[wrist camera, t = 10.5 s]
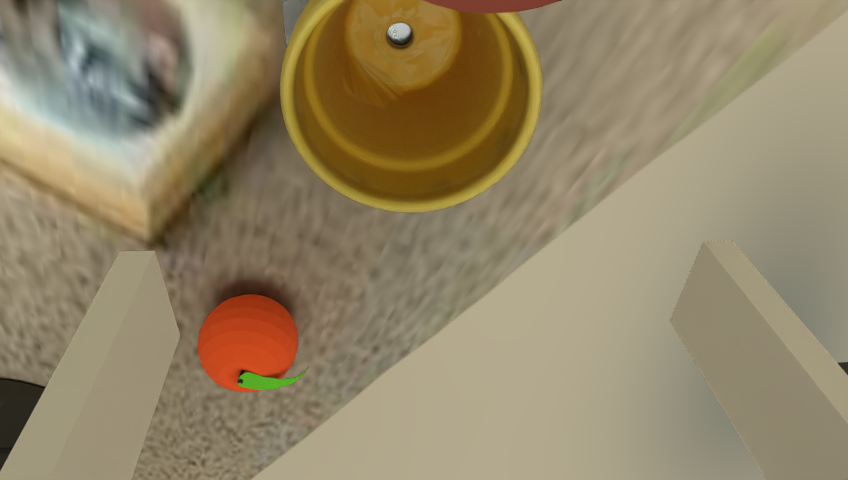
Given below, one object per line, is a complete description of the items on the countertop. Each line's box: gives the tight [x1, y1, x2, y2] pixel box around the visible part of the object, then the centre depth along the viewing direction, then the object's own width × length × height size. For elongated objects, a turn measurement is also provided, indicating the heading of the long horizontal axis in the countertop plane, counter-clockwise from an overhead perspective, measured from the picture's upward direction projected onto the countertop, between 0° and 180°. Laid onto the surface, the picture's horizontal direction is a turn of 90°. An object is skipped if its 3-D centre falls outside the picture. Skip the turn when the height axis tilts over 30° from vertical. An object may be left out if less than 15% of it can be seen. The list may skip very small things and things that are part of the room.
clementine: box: [198, 294, 309, 392], centre depth 41 cm, size 8×7×7 cm
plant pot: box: [280, 0, 542, 213], centre depth 26 cm, size 10×10×10 cm
